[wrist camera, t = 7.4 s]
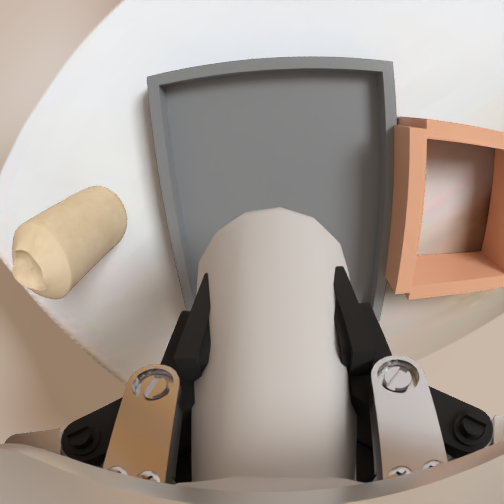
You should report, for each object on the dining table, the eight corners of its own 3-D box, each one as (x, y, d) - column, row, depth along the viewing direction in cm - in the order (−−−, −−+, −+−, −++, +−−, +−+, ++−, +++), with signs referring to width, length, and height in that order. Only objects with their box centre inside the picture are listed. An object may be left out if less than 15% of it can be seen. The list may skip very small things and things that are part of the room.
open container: (504, 132, 17) (537, 141, 13) (486, 261, 22) (511, 285, 18) (383, 115, 18) (409, 117, 14) (376, 270, 23) (393, 301, 19)
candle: (87, 249, 25) (22, 312, 16) (68, 193, 22) (-11, 239, 13) (136, 240, 24) (72, 311, 15) (117, 178, 22) (35, 223, 13)
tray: (382, 65, 16) (392, 61, 15) (373, 307, 25) (379, 320, 23) (157, 79, 18) (146, 76, 16) (196, 314, 27) (191, 328, 25)
